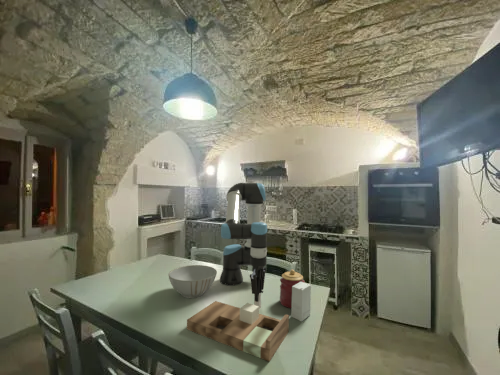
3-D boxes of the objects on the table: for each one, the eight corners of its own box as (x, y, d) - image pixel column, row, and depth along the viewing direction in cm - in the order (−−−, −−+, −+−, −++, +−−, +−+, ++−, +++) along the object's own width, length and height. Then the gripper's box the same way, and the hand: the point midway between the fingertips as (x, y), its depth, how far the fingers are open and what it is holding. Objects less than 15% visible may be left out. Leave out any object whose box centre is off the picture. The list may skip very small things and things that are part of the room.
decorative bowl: (205, 307, 118) (206, 283, 118) (157, 301, 123) (158, 278, 124) (222, 286, 144) (222, 266, 144) (182, 282, 150) (182, 263, 150)
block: (239, 320, 99) (239, 308, 99) (247, 314, 104) (247, 302, 104) (251, 324, 96) (252, 312, 96) (258, 318, 101) (259, 306, 101)
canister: (285, 310, 116) (286, 274, 117) (276, 298, 129) (276, 266, 129) (309, 307, 120) (309, 272, 120) (297, 296, 132) (297, 265, 133)
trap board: (186, 329, 99) (187, 312, 99) (215, 309, 116) (215, 294, 116) (269, 361, 81) (269, 341, 81) (288, 331, 98) (288, 315, 98)
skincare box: (300, 311, 116) (300, 280, 116) (311, 315, 112) (311, 284, 112) (290, 317, 110) (291, 285, 110) (301, 322, 106) (302, 289, 106)
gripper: (259, 260, 101) (258, 315, 101) (271, 254, 113) (270, 303, 112) (244, 258, 105) (243, 311, 104) (257, 252, 116) (256, 299, 116)
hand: (257, 307), depth 108 cm, fingers closed
